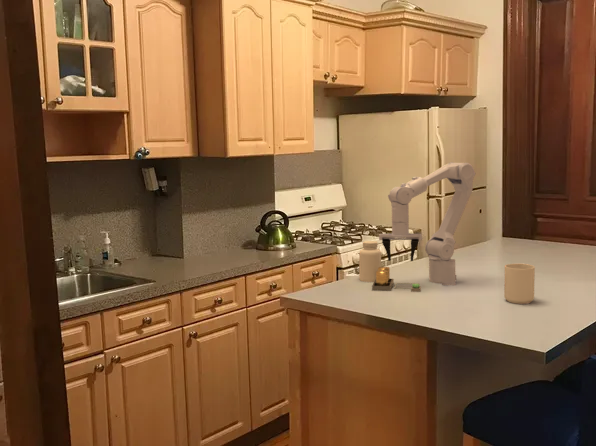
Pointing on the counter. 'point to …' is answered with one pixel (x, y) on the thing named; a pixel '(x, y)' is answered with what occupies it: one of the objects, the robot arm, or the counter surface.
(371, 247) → the pill bottle
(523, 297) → the mug
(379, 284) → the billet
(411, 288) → the button housing
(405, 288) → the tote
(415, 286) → the button
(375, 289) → the crate
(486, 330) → the counter surface
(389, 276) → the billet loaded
